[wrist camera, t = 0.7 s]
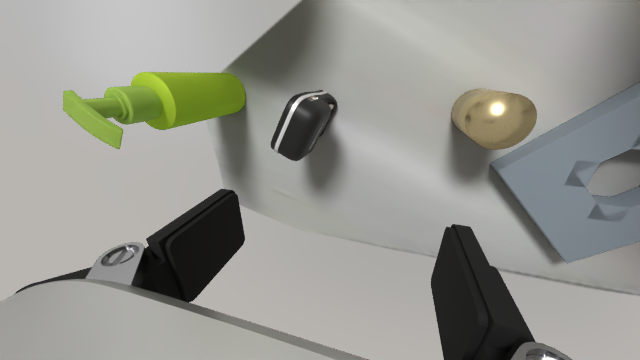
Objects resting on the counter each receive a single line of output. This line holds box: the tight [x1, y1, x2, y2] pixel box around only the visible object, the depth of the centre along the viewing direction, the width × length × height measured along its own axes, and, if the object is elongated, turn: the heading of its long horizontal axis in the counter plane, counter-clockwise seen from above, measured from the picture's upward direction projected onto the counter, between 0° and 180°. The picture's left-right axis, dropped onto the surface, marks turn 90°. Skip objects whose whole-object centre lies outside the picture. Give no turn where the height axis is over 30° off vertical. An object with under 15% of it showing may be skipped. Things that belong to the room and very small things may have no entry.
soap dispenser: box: [63, 72, 246, 149], centre depth 27 cm, size 6×7×20 cm
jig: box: [490, 82, 640, 263], centre depth 25 cm, size 18×16×4 cm
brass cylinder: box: [451, 89, 537, 150], centre depth 24 cm, size 5×5×8 cm
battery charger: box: [271, 90, 337, 161], centre depth 28 cm, size 7×4×11 cm, turn 153°
